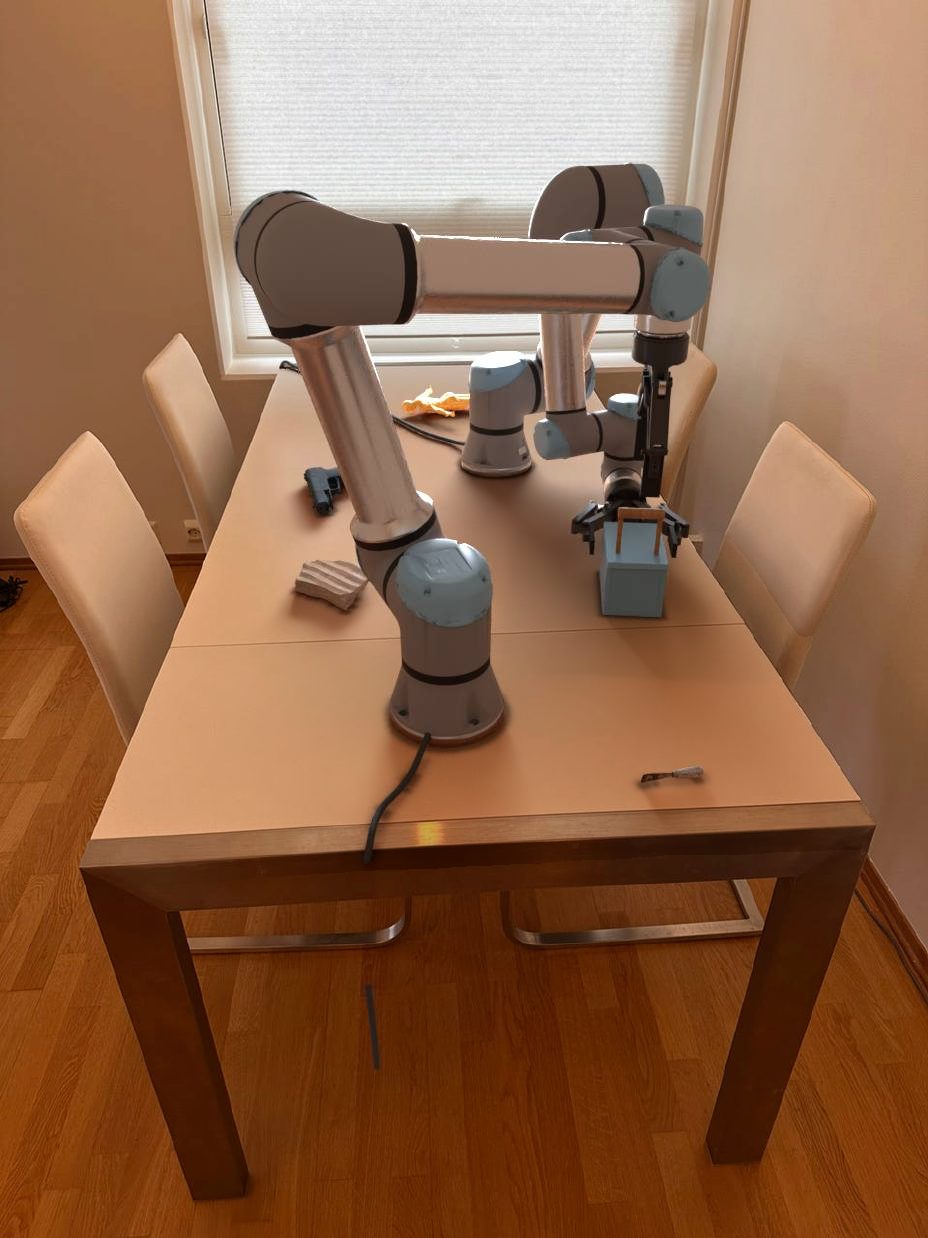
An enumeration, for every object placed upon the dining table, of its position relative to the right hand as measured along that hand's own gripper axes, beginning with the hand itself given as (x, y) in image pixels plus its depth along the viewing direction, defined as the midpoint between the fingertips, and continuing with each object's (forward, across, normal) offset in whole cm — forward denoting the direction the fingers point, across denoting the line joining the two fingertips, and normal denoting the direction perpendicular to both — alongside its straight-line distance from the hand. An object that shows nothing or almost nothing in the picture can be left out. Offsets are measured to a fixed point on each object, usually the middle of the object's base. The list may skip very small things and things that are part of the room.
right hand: (633, 549), depth 148 cm
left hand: (+9, 0, +17) cm, 19 cm away
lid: (+5, +1, +3) cm, 6 cm away
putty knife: (+50, -2, -6) cm, 50 cm away
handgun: (-31, +57, -6) cm, 65 cm away
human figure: (-85, +39, -6) cm, 93 cm away
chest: (+5, 0, -6) cm, 8 cm away
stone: (+7, +50, -6) cm, 50 cm away
